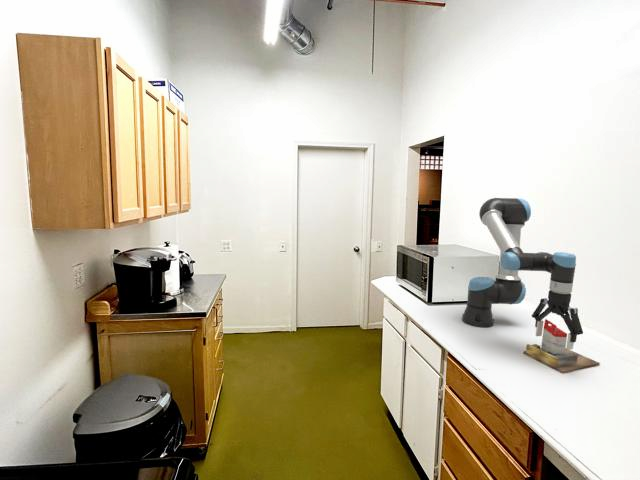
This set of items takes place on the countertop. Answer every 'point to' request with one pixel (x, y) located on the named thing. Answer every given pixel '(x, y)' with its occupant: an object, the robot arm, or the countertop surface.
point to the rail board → (571, 367)
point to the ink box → (553, 339)
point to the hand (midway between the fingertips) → (553, 342)
